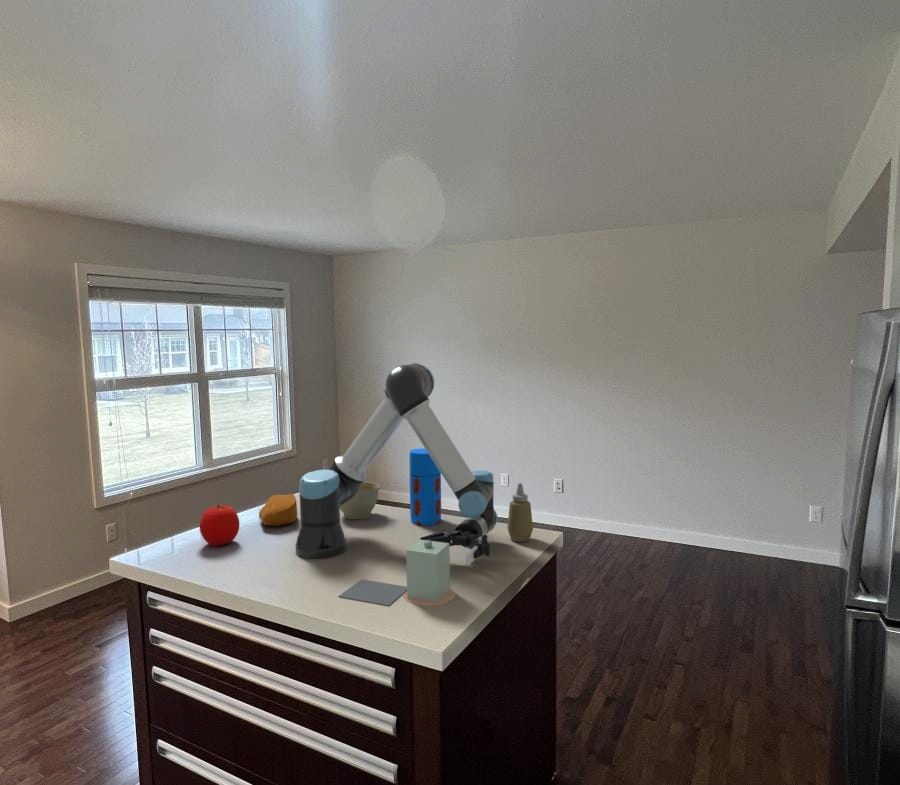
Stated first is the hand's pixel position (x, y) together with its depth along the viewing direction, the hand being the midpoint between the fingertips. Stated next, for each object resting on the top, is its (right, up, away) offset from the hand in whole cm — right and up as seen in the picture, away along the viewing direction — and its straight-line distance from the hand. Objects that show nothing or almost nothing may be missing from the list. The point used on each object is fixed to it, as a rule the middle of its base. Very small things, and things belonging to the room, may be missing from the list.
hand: (443, 556), depth 151 cm
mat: (-17, -8, -6) cm, 20 cm away
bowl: (-3, -8, -7) cm, 11 cm away
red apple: (-70, -5, +32) cm, 78 cm away
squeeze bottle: (+24, -4, +33) cm, 41 cm away
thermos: (-7, -3, +53) cm, 54 cm away
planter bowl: (-32, -3, +60) cm, 68 cm away
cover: (-3, -7, -7) cm, 11 cm away
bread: (-59, -3, +54) cm, 80 cm away
